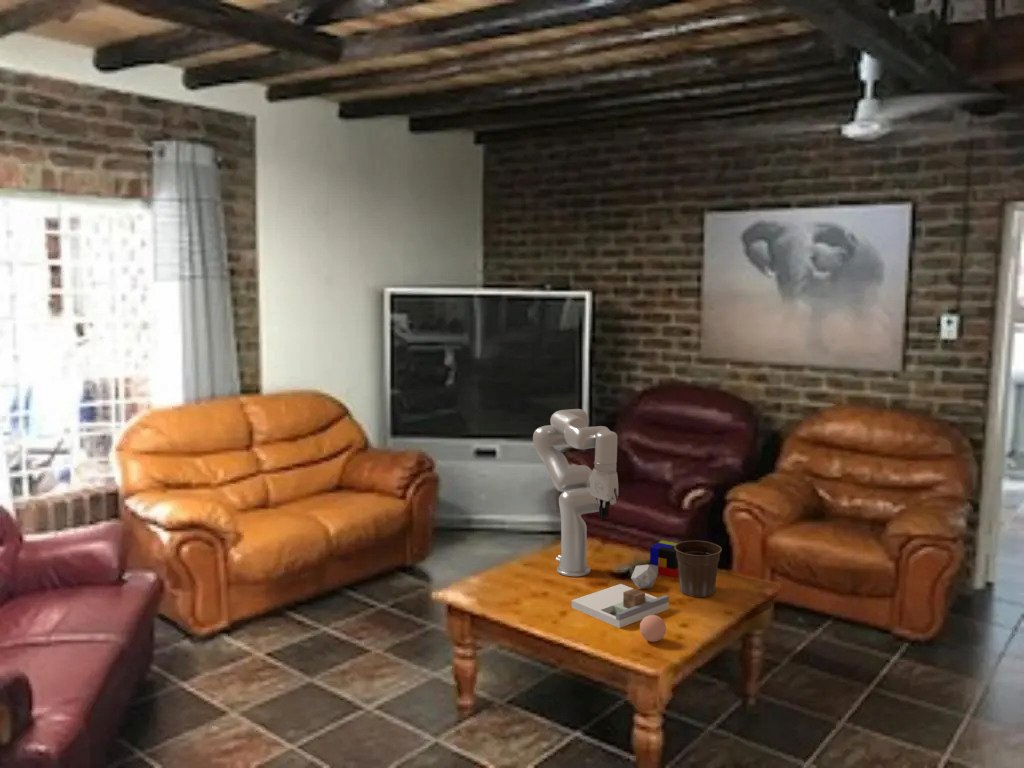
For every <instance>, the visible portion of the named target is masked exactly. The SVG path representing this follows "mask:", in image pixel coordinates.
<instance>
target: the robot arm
mask: <svg viewBox="0 0 1024 768" xmlns="http://www.w3.org/2000/svg"><path fill="white" fill-rule="evenodd" d="M549 420H550V424H549V425H543V426H540V427H538V428H536V429H535V430H534V432H533V436H532V443H533V447H534V451H535V452H536V454H537V456H538V457H539V459H541V461H542V462H543V464H544V465H545V468H546V470H547V473H548V474H549V476H550V479H551V481H552V483H553V485H554V487H555V489H556V490H557V491H558V492H561V494H559V496H558V506H559V512H560V521H561V523H560V524H561V526H560V530H561V531H560V535H561V541H560V542H561V543H560V545H561V548H560V549H561V553H560V554H558V555H557V556H556V557H555V561H556V562H558V563H559V565H558V566H557V567H556V571H557V573H558V574H561V575H563V576H566V577H576V578H577V577H582V576H587V575H589V574H590V573H591V567H590V566H589V565H588V564H587V545H588V544H587V541H588V540H587V534H588V531H587V529H588V527H587V524H586V521H584V519H583V518H582V515H586V514H592V513H597V512H598V518H599V519H602V520H603V519H606V518H609V515H610V507H611V505H617V500H618V498H619V497H618V496H619V478H618V472H617V462H618V461H617V460H618V457H617V456H618V434H617V433H616V432H615V431H612V430H610V429H609V428H608V427H607V426H605V425H603V426H602V425H598V426H589V423H590V419H589V416H588V413H587V412H586V411H585V410H584V409H580V408H572V409H561V410H557V411H555V412H554V413H553V414H551V417H550V419H549ZM562 446H563V447H564V446H570V447H571V448H574V449H576V450H587V449H594V461H593V464H594V467H593V468H592V469H591V468H590V467H589V466H587V465H584V464H581V465H580V464H579V465H571V464H570V463H569V461H568V459H567V457H566V456H565V454H563V452H562V451H560V450H558V449H557V448H555V447H562Z"/></svg>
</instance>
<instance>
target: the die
mask: <svg viewBox="0 0 1024 768" xmlns="http://www.w3.org/2000/svg"><path fill="white" fill-rule="evenodd" d="M657 578H658V574H656V573H655V572H654V570H653V569H652V568H651V566H650V564H641V565H635V567H634V569H633V572H632V574H631V577H630V579H631V581H632V582H633V583H634V584H635V586H636V587H637V588H638V589H639V590H643V589H644V590H645V589H652V588H653V587H654V585H655V583H656V581H657ZM638 589H637V590H638Z"/></svg>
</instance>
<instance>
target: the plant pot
mask: <svg viewBox="0 0 1024 768" xmlns="http://www.w3.org/2000/svg"><path fill="white" fill-rule="evenodd" d="M674 548H675V550H676V557H677V560H678V570H679V575H678V579H679V580H678V581H679V591H680V592H681V593H682V594H683V595H685V596H687V597H688V596H689V597H690V596H693V597H694V598H706V597H707V598H708V597H711V596H713V595H714V593H716V585H717V584H716V583H717V576H718V566H719V562H720V559H721V558H720V555H721V553H722V550H723V548H722V547H721V546H720V545H718V544H717V543H715V542H714V543H713V542H712V541H711V542H710V541H706V540H705V541H704V540H684V541H680V542H678V543H677V544H676V545H675V546H674Z"/></svg>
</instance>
